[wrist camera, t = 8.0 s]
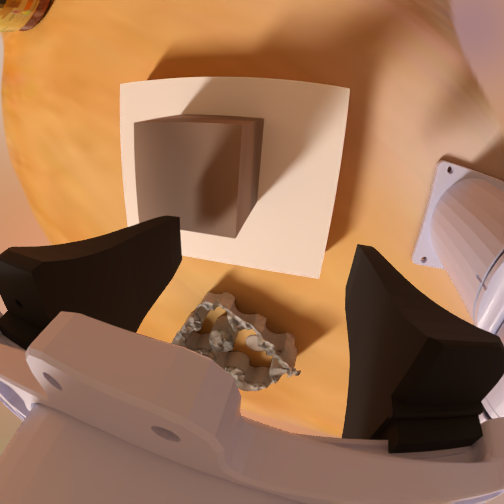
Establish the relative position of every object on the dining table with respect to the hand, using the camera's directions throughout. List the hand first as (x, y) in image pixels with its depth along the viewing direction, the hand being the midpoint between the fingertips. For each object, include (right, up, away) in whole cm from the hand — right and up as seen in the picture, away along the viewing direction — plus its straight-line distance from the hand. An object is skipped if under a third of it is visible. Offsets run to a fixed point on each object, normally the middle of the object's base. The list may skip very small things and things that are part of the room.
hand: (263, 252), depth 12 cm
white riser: (-2, +6, +8) cm, 10 cm away
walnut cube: (-2, +6, +5) cm, 8 cm away
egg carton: (-1, -8, +16) cm, 18 cm away
